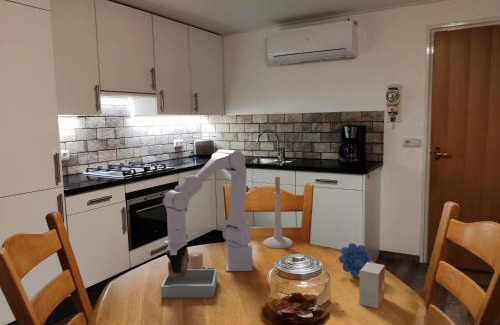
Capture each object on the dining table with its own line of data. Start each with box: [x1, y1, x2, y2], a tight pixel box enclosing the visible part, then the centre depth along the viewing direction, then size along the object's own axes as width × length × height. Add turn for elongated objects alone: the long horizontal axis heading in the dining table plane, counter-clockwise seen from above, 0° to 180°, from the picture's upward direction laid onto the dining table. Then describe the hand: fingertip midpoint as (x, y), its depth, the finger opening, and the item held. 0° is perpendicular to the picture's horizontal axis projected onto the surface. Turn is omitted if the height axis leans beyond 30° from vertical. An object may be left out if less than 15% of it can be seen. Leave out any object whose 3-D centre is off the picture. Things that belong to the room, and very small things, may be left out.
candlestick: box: [262, 175, 294, 250], centre depth 169 cm, size 13×13×30 cm
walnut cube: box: [167, 256, 188, 277], centre depth 127 cm, size 5×5×5 cm
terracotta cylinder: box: [188, 251, 204, 269], centre depth 140 cm, size 5×5×7 cm
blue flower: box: [338, 242, 373, 278], centre depth 134 cm, size 12×7×12 cm, turn 92°
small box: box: [358, 261, 386, 309], centre depth 117 cm, size 8×6×10 cm
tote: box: [160, 268, 218, 300], centre depth 127 cm, size 16×13×4 cm
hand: (178, 268), depth 127 cm, fingers closed on walnut cube, 5 cm apart
